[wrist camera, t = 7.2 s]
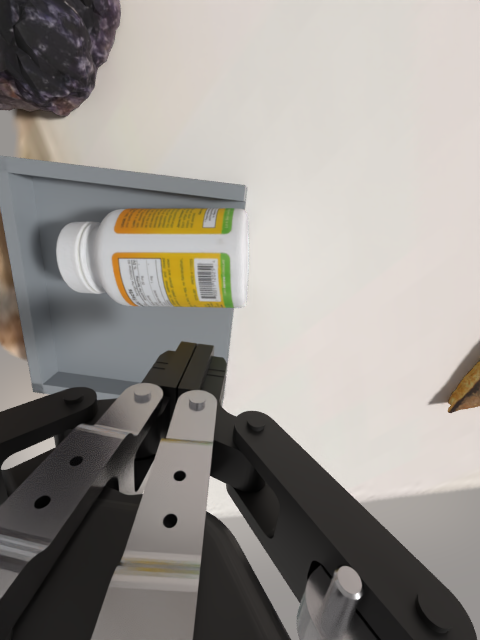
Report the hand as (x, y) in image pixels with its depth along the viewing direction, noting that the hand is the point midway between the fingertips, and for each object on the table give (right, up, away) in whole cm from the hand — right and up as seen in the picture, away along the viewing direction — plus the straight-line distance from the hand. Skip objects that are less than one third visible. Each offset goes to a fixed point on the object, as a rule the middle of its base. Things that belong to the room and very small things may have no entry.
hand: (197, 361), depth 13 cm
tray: (-5, +4, +8) cm, 10 cm away
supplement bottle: (+3, +5, +3) cm, 6 cm away
